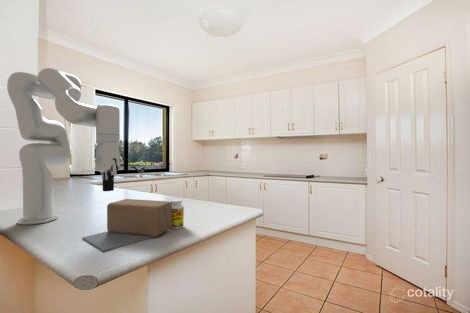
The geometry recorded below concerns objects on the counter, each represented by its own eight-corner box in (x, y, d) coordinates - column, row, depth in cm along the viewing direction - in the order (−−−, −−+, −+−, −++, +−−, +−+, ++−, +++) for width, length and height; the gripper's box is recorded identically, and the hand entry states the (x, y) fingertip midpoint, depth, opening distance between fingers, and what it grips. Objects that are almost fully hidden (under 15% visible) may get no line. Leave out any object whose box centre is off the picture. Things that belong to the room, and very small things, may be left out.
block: (105, 232, 82) (157, 237, 77) (105, 203, 82) (157, 207, 77) (125, 224, 91) (172, 228, 86) (125, 198, 91) (172, 201, 86)
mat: (82, 238, 77) (82, 237, 77) (135, 225, 91) (135, 224, 91) (103, 251, 67) (103, 250, 67) (159, 235, 81) (159, 233, 81)
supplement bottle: (168, 230, 86) (168, 202, 86) (168, 225, 92) (168, 199, 91) (183, 229, 87) (183, 201, 87) (183, 224, 93) (183, 198, 93)
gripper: (88, 140, 87) (88, 190, 87) (106, 138, 78) (106, 194, 78) (109, 141, 93) (109, 187, 93) (128, 139, 83) (128, 191, 84)
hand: (108, 190), depth 85 cm, fingers closed
